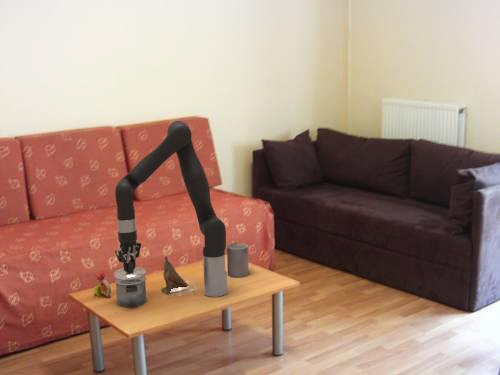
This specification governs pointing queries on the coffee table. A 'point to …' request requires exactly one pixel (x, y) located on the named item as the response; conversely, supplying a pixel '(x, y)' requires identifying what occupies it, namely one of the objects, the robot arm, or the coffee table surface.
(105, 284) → the bird rattle
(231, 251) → the pillar candle
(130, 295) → the cooker pot
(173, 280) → the worn brown figurine
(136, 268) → the cooker lid
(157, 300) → the coffee table surface
